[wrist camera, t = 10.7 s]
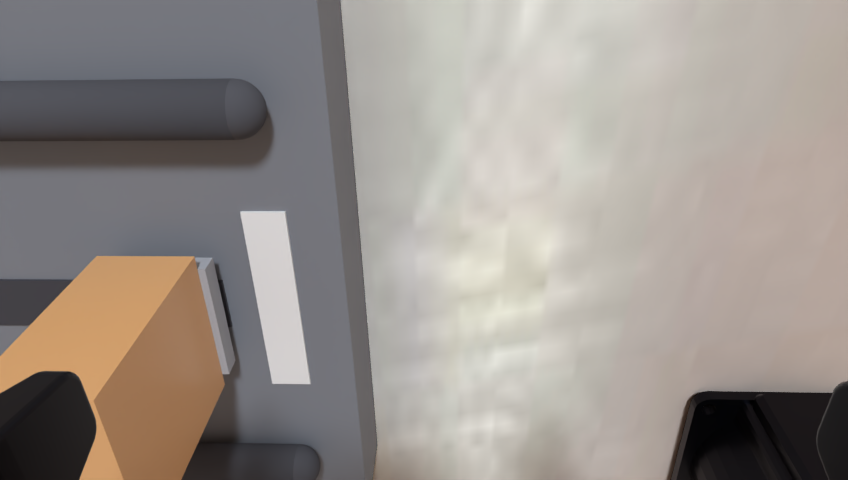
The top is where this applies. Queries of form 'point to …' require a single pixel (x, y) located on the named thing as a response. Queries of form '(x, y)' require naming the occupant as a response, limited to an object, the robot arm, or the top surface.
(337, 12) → the panel
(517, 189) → the top surface
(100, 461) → the breaker handle
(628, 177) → the top surface
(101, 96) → the grey slider track
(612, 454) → the top surface
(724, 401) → the robot arm
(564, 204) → the top surface
